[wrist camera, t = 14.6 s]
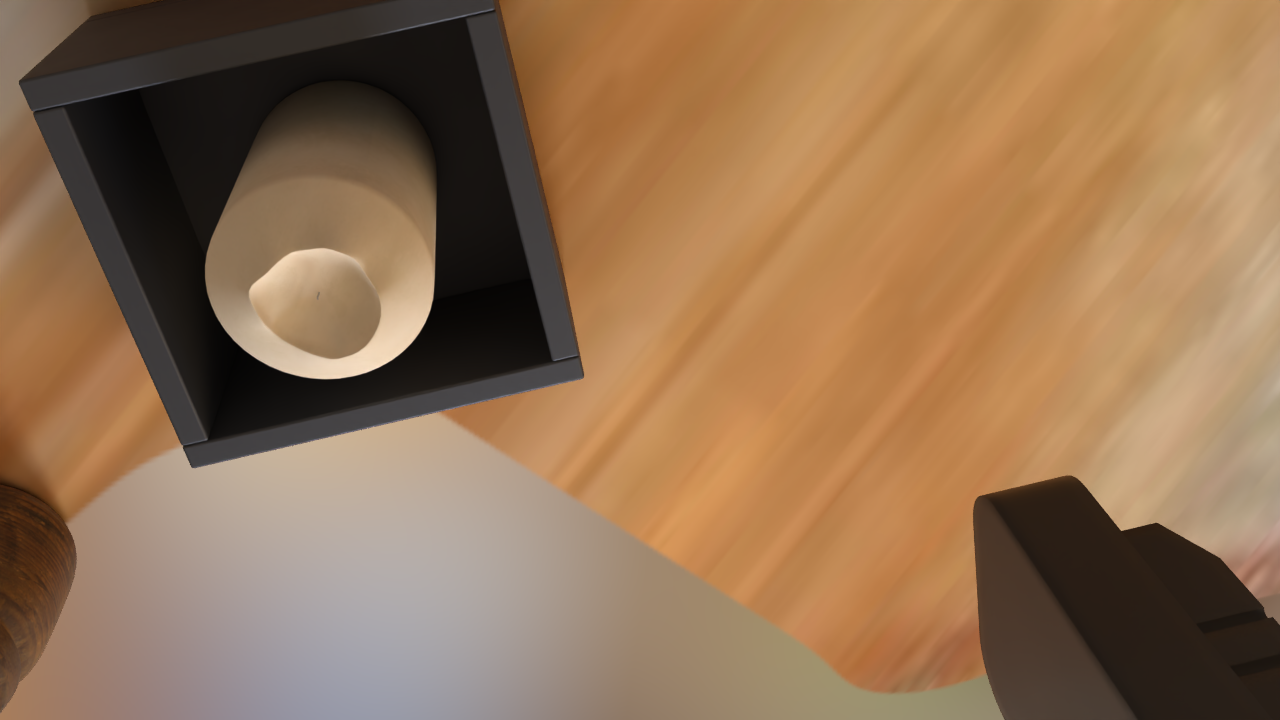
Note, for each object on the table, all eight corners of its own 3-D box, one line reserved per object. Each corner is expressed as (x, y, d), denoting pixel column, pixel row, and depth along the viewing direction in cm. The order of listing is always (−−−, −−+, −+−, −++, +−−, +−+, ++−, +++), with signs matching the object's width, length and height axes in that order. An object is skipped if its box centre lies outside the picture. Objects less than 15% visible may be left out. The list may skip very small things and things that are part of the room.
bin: (88, 15, 35) (16, 81, 29) (481, -70, 36) (488, -23, 30) (228, 358, 41) (191, 470, 35) (565, 281, 41) (585, 379, 35)
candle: (228, 207, 38) (162, 362, 29) (291, 46, 36) (240, 161, 27) (396, 273, 39) (381, 438, 31) (465, 124, 37) (470, 255, 29)
